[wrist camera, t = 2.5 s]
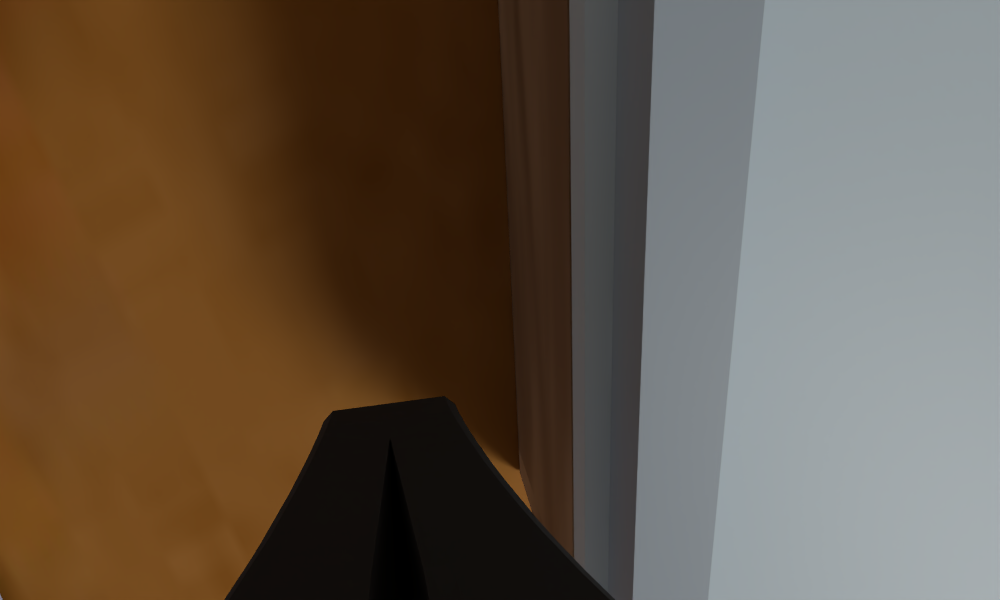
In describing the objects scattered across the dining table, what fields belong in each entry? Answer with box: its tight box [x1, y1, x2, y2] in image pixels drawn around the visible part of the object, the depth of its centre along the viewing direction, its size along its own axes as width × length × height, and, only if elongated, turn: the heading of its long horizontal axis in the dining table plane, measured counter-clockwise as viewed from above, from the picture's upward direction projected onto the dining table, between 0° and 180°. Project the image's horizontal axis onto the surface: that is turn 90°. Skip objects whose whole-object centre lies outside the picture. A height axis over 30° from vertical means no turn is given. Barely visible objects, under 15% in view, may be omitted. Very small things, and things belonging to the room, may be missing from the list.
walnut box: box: [498, 0, 574, 558], centre depth 15 cm, size 13×13×5 cm
